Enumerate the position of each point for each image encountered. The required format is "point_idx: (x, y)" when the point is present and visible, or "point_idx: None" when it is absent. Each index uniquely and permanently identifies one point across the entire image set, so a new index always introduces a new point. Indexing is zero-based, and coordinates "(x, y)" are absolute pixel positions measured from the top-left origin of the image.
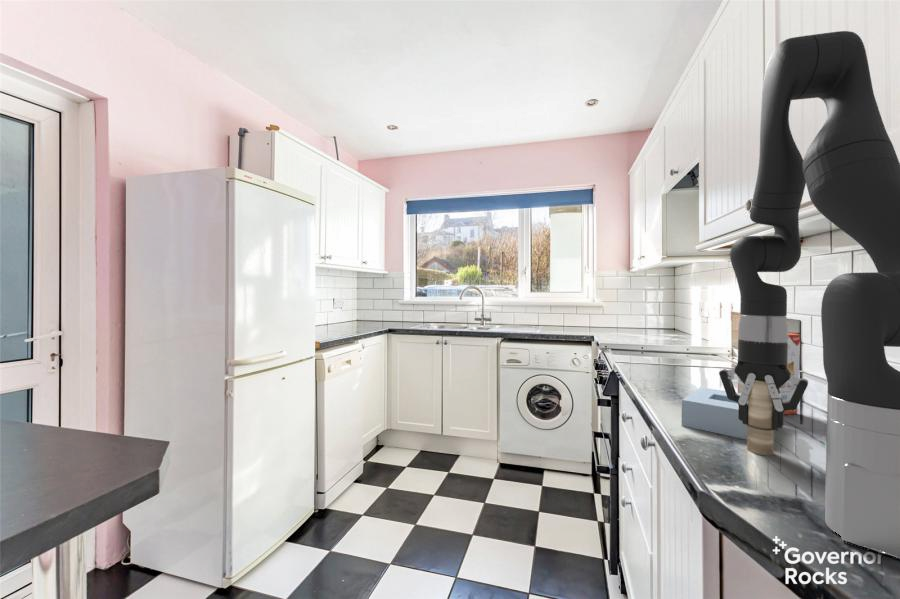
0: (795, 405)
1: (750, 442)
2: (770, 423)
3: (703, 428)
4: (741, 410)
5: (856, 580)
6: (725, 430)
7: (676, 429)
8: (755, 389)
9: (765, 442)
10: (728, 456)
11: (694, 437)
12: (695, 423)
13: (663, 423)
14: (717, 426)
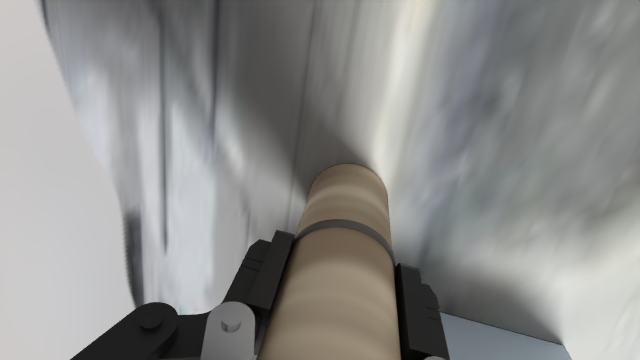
0: (121, 330)
1: (382, 200)
2: (300, 252)
3: (495, 332)
4: (430, 331)
5: None
6: None
7: (605, 303)
8: None
9: (333, 189)
10: (487, 77)
11: (560, 245)
12: (526, 350)
13: (635, 346)
14: (456, 337)
